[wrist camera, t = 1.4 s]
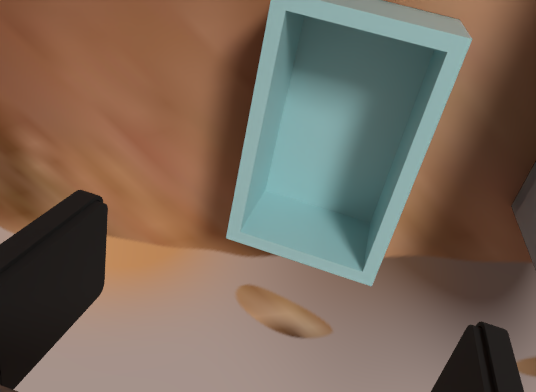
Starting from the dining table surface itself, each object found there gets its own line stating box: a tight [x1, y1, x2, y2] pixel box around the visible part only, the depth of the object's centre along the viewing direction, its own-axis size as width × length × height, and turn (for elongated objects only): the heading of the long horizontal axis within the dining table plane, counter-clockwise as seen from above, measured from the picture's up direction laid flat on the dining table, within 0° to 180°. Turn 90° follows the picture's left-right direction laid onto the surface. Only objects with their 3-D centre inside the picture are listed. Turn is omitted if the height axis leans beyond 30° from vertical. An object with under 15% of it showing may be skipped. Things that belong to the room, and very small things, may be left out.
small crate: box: [226, 0, 472, 286], centre depth 21 cm, size 11×7×5 cm, turn 168°
